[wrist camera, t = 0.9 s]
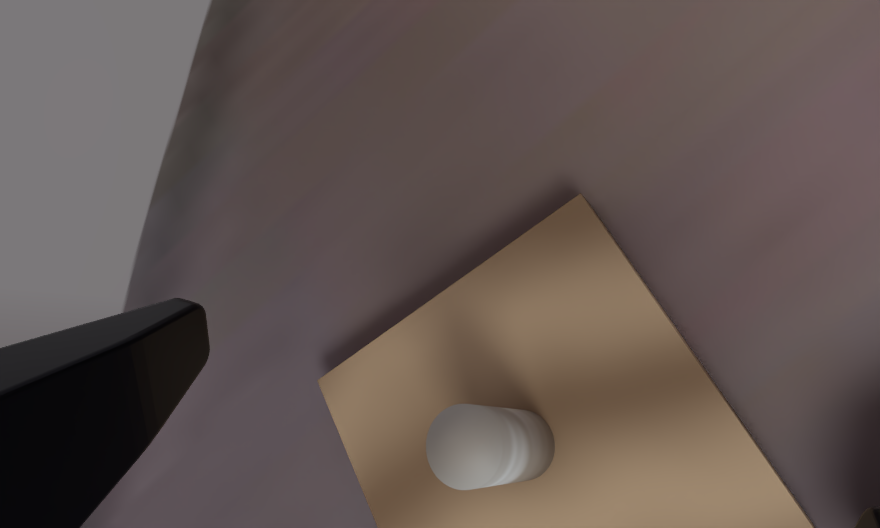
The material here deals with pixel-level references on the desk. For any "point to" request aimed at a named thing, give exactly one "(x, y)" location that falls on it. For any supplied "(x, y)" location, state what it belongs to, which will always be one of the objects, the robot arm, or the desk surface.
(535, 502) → the post block
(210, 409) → the desk surface
